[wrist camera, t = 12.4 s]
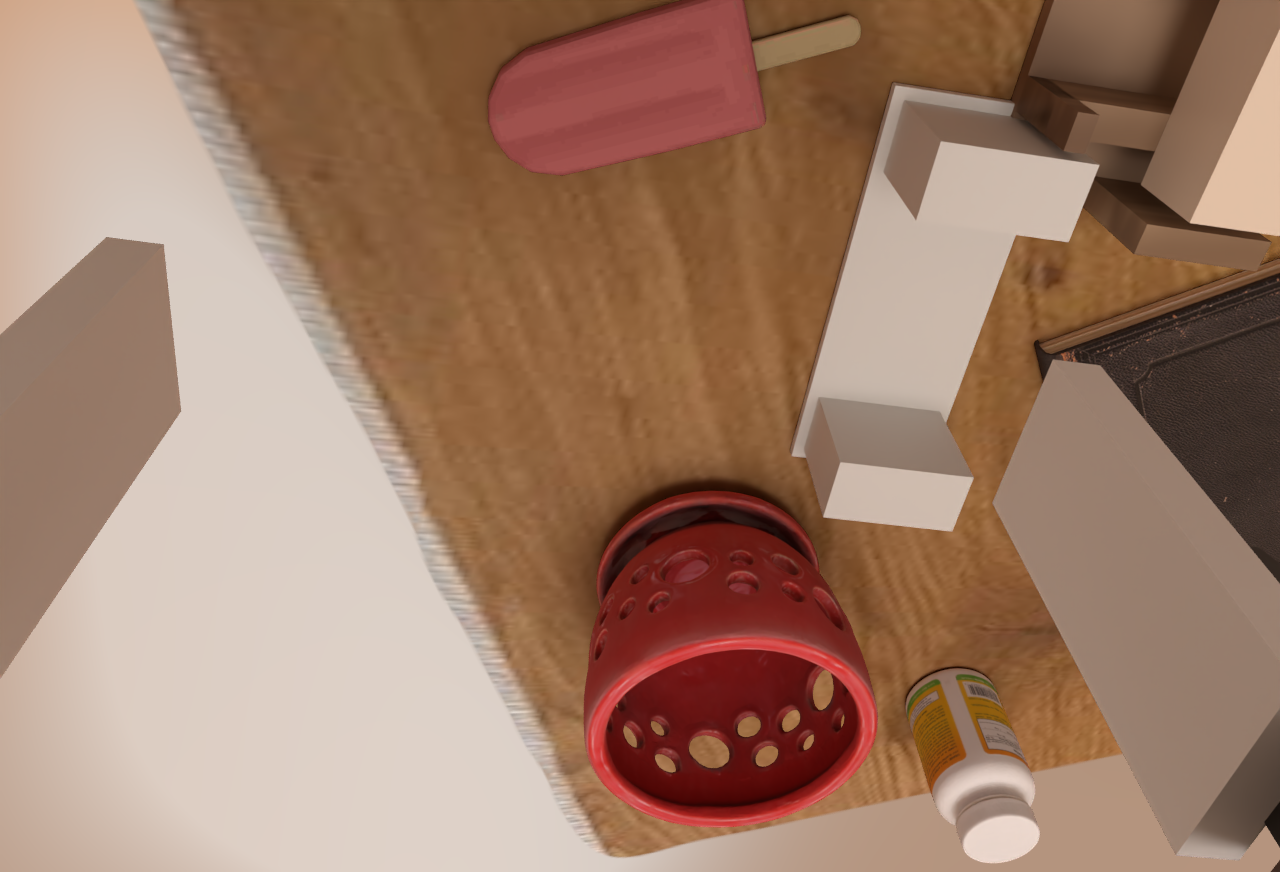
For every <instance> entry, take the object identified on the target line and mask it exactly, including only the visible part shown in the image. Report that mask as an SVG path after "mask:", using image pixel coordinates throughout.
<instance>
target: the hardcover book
mask: <svg viewBox="0 0 1280 872" xmlns="http://www.w3.org/2000/svg"><path fill="white" fill-rule="evenodd" d="M1034 345H1035V349H1036V353H1037V357H1038V362H1039V366H1040V370H1041V374H1042V379H1043V382H1044V379H1045V377H1046V375H1047V372H1048V370H1049V368H1050V365H1051V363H1052V360H1053V359H1054V360H1062V361H1069V362H1077V363H1085V364H1092V365H1100V366H1101V367H1102V368H1103V370H1104V371H1105V372H1106V373H1107V374H1108V376H1109V377H1110V378H1111V379H1112V380H1113V382H1114V383H1115V384H1116V385H1117V387H1118V388H1119V389H1120V390H1121V391H1122V393H1123V394H1124V395H1125V396H1126V397H1127V399H1128V400H1129V401H1130V402H1131V404H1132V405H1133V406H1134V407H1135V408H1136V410H1137V411H1138V412H1139V413H1140V414H1141V416H1142V417H1143V418H1144V419H1145V421H1146V422H1147V423H1148V424H1149V425H1150V427H1151V428H1152V429H1153V430H1154V431H1155V433H1156V434H1157V435H1158V436H1159V438H1160V439H1161V440H1162V441H1163V442H1164V444H1165V445H1166V446H1167V447H1168V448H1169V450H1170V451H1171V452H1172V453H1173V455H1174V456H1175V457H1176V458H1177V459H1178V461H1179V462H1180V463H1181V464H1182V465H1183V467H1184V468H1185V469H1186V470H1187V472H1188V473H1189V474H1190V475H1191V476H1192V478H1193V479H1194V480H1195V481H1196V482H1197V484H1198V485H1199V486H1200V487H1201V489H1202V490H1203V491H1204V492H1205V493H1206V495H1207V496H1208V497H1209V498H1210V499H1211V501H1212V502H1213V503H1214V504H1215V506H1216V507H1217V508H1218V509H1219V510H1220V512H1221V513H1222V514H1223V515H1224V516H1225V518H1226V519H1227V520H1228V521H1229V523H1230V524H1231V525H1232V526H1233V527H1234V529H1235V530H1236V531H1237V532H1238V533H1239V535H1240V536H1241V537H1242V538H1243V540H1244V541H1245V542H1246V543H1247V544H1248V546H1254V547H1259V548H1260V549H1262V550H1263V551H1264V552H1266V553H1267V554H1268V555H1270V556H1271V557H1272V558H1274V559H1275V560H1276V561H1278V562H1279V563H1280V259H1277V260H1274V261H1271V262H1269V263H1266V264H1263V265H1260V266H1259V268H1258V270H1257V271H1250V270H1246V271H1243V272H1240V273H1238V274H1235V275H1232V276H1229V277H1226V278H1224V279H1221V280H1218V281H1215V282H1212V283H1209V284H1207V285H1204V286H1201V287H1198V288H1195V289H1193V290H1190V291H1187V292H1184V293H1181V294H1178V295H1176V296H1173V297H1170V298H1167V299H1164V300H1162V301H1159V302H1156V303H1153V304H1150V305H1148V306H1145V307H1142V308H1139V309H1136V310H1133V311H1131V312H1128V313H1125V314H1122V315H1119V316H1117V317H1114V318H1111V319H1108V320H1105V321H1103V322H1100V323H1097V324H1094V325H1091V326H1088V327H1086V328H1083V329H1080V330H1077V331H1074V332H1072V333H1069V334H1066V335H1063V336H1060V337H1057V338H1055V339H1052V340H1049V341H1046V342H1043V343H1041V344H1039V341H1038V340H1037V341H1035V343H1034Z"/></svg>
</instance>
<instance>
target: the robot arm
mask: <svg viewBox="0 0 1280 872" xmlns="http://www.w3.org/2000/svg"><path fill="white" fill-rule="evenodd" d="M173 340H174V339H173V331H172V320H171V311H170V301H169V292H168V283H167V273H166V263H165V254H164V245H163V244H155V243H147V242H140V241H132V240H123V239H116V238H109V237H106V238H105V239H104V240H103V241H102V242H101V243H100V244H99V245H97V246H96V247H95V248H94V249H93V250H92V251H91V252H90V253H89V254H88V255H87V256H85V257H84V258H83V259H82V260H81V261H80V262H79V263H78V264H77V265H76V266H75V267H74V268H72V269H71V270H70V271H69V272H68V273H67V274H66V275H65V276H64V277H63V278H62V279H60V281H58V282H57V283H56V284H55V285H54V286H53V287H52V288H51V289H50V290H48V291H47V292H46V293H45V294H44V295H43V296H42V297H41V298H40V299H39V300H38V301H37V302H35V303H34V304H33V305H32V306H31V307H30V308H29V309H28V310H27V311H26V312H25V313H23V314H22V315H21V316H20V317H19V318H18V319H17V320H16V321H15V322H14V323H13V324H11V325H10V326H9V327H8V328H7V329H6V330H5V331H4V332H3V333H2V334H1V335H0V678H1V677H2V675H3V674H4V672H5V671H6V669H7V668H8V667H9V665H10V663H11V662H12V661H13V659H14V658H15V656H16V655H17V653H18V652H19V650H20V649H21V647H22V645H23V644H24V643H25V641H26V640H27V638H28V636H29V635H30V634H31V632H32V631H33V629H34V628H35V627H36V625H37V624H38V622H39V620H40V619H41V618H42V616H43V615H44V613H45V612H46V610H47V609H48V607H49V606H50V604H51V603H52V601H53V600H54V598H55V597H56V595H57V594H58V592H59V591H60V590H61V588H62V586H63V585H64V584H65V582H66V581H67V579H68V578H69V576H70V575H71V573H72V572H73V570H74V569H75V567H76V566H77V564H78V563H79V561H80V560H81V558H82V557H83V555H84V554H85V553H86V551H87V550H88V548H89V547H90V545H91V544H92V542H93V541H94V539H95V538H96V536H97V535H98V533H99V532H100V530H101V529H102V527H103V526H104V524H105V523H106V521H107V520H108V518H109V517H110V515H111V514H112V513H113V511H114V509H115V508H116V507H117V505H118V504H119V502H120V501H121V499H122V498H123V496H124V495H125V493H126V492H127V490H128V489H129V487H130V486H131V484H132V483H133V481H134V480H135V478H136V477H137V475H138V474H139V472H140V471H141V470H142V468H143V467H144V465H145V464H146V462H147V461H148V459H149V458H150V456H151V455H152V453H153V452H154V450H155V449H156V447H157V446H158V444H159V443H160V441H161V440H162V438H163V437H164V436H165V434H166V432H167V431H168V430H169V428H170V427H171V425H172V424H173V422H174V421H175V419H176V418H177V416H178V415H179V413H180V412H181V406H180V397H179V387H178V378H177V368H176V359H175V349H174V341H173ZM993 505H994V507H995V509H996V511H997V513H998V515H999V517H1000V519H1001V521H1002V522H1003V524H1004V526H1005V528H1006V530H1007V532H1008V534H1009V536H1010V538H1011V540H1012V542H1013V544H1014V546H1015V547H1016V549H1017V551H1018V553H1019V555H1020V557H1021V559H1022V561H1023V563H1024V565H1025V567H1026V569H1027V570H1028V572H1029V574H1030V576H1031V578H1032V580H1033V582H1034V584H1035V586H1036V588H1037V590H1038V592H1039V594H1040V595H1041V597H1042V599H1043V601H1044V603H1045V605H1046V607H1047V609H1048V611H1049V613H1050V615H1051V617H1052V619H1053V620H1054V622H1055V624H1056V626H1057V628H1058V630H1059V632H1060V634H1061V636H1062V638H1063V640H1064V642H1065V643H1066V645H1067V647H1068V649H1069V651H1070V653H1071V655H1072V657H1073V659H1074V661H1075V663H1076V665H1077V667H1078V668H1079V670H1080V672H1081V674H1082V676H1083V678H1084V680H1085V682H1086V684H1087V686H1088V688H1089V690H1090V691H1091V693H1092V695H1093V697H1094V699H1095V701H1096V703H1097V705H1098V707H1099V709H1100V711H1101V713H1102V715H1103V716H1104V718H1105V720H1106V722H1107V724H1108V726H1109V728H1110V730H1111V732H1112V734H1113V736H1114V738H1115V739H1116V741H1117V743H1118V745H1119V747H1120V749H1121V751H1122V753H1123V755H1124V757H1125V759H1126V761H1127V762H1128V764H1129V766H1130V768H1131V770H1132V772H1133V774H1134V776H1135V778H1136V780H1137V782H1138V784H1139V786H1140V788H1141V789H1142V791H1143V793H1144V795H1145V797H1146V799H1147V801H1148V803H1149V805H1150V807H1151V808H1152V811H1153V812H1154V814H1155V816H1156V818H1157V820H1158V822H1159V824H1160V826H1161V827H1162V830H1163V832H1164V834H1165V836H1166V837H1167V839H1168V841H1169V843H1170V845H1171V847H1172V849H1173V851H1174V853H1175V855H1177V856H1189V857H1204V858H1215V859H1228V860H1240V858H1241V857H1242V856H1243V854H1244V853H1245V852H1246V850H1247V849H1248V848H1249V847H1250V845H1251V844H1252V843H1253V841H1254V840H1255V839H1256V837H1257V836H1258V834H1259V833H1260V832H1261V831H1262V829H1263V828H1264V827H1265V826H1267V828H1268V829H1269V831H1270V832H1271V834H1272V836H1273V837H1274V839H1275V840H1276V842H1277V844H1278V845H1279V847H1280V563H1279V562H1278V561H1276V560H1275V559H1274V558H1272V557H1271V556H1270V555H1268V554H1267V553H1266V552H1264V551H1263V550H1262V549H1260V548H1259V547H1254V546H1248V544H1247V543H1246V542H1245V541H1244V540H1243V538H1242V537H1241V536H1240V535H1239V533H1238V532H1237V531H1236V530H1235V529H1234V527H1233V526H1232V525H1231V524H1230V523H1229V521H1228V520H1227V519H1226V518H1225V516H1224V515H1223V514H1222V513H1221V512H1220V510H1219V509H1218V508H1217V507H1216V506H1215V504H1214V503H1213V502H1212V501H1211V499H1210V498H1209V497H1208V496H1207V495H1206V493H1205V492H1204V491H1203V490H1202V489H1201V487H1200V486H1199V485H1198V484H1197V482H1196V481H1195V480H1194V479H1193V478H1192V476H1191V475H1190V474H1189V473H1188V472H1187V470H1186V469H1185V468H1184V467H1183V465H1182V464H1181V463H1180V462H1179V461H1178V459H1177V458H1176V457H1175V456H1174V455H1173V453H1172V452H1171V451H1170V450H1169V448H1168V447H1167V446H1166V445H1165V444H1164V442H1163V441H1162V440H1161V439H1160V438H1159V436H1158V435H1157V434H1156V433H1155V431H1154V430H1153V429H1152V428H1151V427H1150V425H1149V424H1148V423H1147V422H1146V421H1145V419H1144V418H1143V417H1142V416H1141V414H1140V413H1139V412H1138V411H1137V410H1136V408H1135V407H1134V406H1133V405H1132V404H1131V402H1130V401H1129V400H1128V399H1127V397H1126V396H1125V395H1124V394H1123V393H1122V391H1121V390H1120V389H1119V388H1118V387H1117V385H1116V384H1115V383H1114V382H1113V380H1112V379H1111V378H1110V377H1109V376H1108V374H1107V373H1106V372H1105V371H1104V370H1103V368H1102V367H1101V366H1100V365H1092V364H1085V363H1077V362H1069V361H1062V360H1054V359H1053V360H1052V363H1051V365H1050V368H1049V370H1048V372H1047V375H1046V377H1045V379H1044V382H1043V384H1042V387H1041V389H1040V391H1039V394H1038V396H1037V398H1036V401H1035V403H1034V406H1033V408H1032V410H1031V413H1030V415H1029V417H1028V420H1027V422H1026V424H1025V427H1024V429H1023V432H1022V434H1021V436H1020V439H1019V441H1018V443H1017V446H1016V448H1015V451H1014V453H1013V455H1012V458H1011V460H1010V462H1009V465H1008V467H1007V470H1006V472H1005V474H1004V477H1003V479H1002V481H1001V484H1000V486H999V489H998V491H997V493H996V496H995V498H994V500H993ZM1271 872H1280V861H1279V862H1278V863H1277V865H1276V866H1275V867H1274V869H1273V870H1272V871H1271Z"/></svg>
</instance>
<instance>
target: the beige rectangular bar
mask: <svg viewBox="0 0 1280 872" xmlns="http://www.w3.org/2000/svg"><path fill="white" fill-rule="evenodd" d="M1141 185H1142V186H1143V187H1144V188H1145V189H1147V190H1148V191H1149V192H1151V193H1152V194H1153V195H1154V196H1156V197H1157V198H1158V199H1160V200H1161V201H1162V202H1163V203H1165V204H1166V205H1167V206H1168V207H1170V208H1171V209H1172V210H1174V211H1175V212H1176V213H1177V214H1179V215H1180V216H1181V217H1183V218H1184V219H1185V220H1186V221H1188V222H1189V223H1193V224H1200V225H1207V226H1214V227H1221V228H1228V229H1234V230H1241V231H1248V232H1255V233H1262V234H1269V235H1276V236H1280V0H1220V1H1219V4H1218V6H1217V8H1216V11H1215V13H1214V15H1213V17H1212V20H1211V22H1210V24H1209V27H1208V29H1207V31H1206V34H1205V36H1204V38H1203V41H1202V43H1201V45H1200V48H1199V50H1198V52H1197V55H1196V57H1195V59H1194V62H1193V64H1192V66H1191V69H1190V71H1189V73H1188V76H1187V78H1186V80H1185V83H1184V85H1183V87H1182V90H1181V92H1180V94H1179V97H1178V99H1177V101H1176V104H1175V106H1174V108H1173V111H1172V113H1171V115H1170V118H1169V120H1168V122H1167V125H1166V127H1165V129H1164V132H1163V134H1162V136H1161V139H1160V141H1159V143H1158V146H1157V148H1156V150H1155V153H1154V155H1153V157H1152V160H1151V162H1150V164H1149V167H1148V169H1147V171H1146V174H1145V176H1144V178H1143V181H1142V183H1141Z"/></svg>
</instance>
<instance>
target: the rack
mask: <svg viewBox="0 0 1280 872" xmlns="http://www.w3.org/2000/svg"><path fill="white" fill-rule="evenodd" d="M1219 1H1220V0H1045V2H1044V5H1043V8H1042V11H1041V14H1040V17H1039V20H1038V23H1037V26H1036V29H1035V32H1034V35H1033V37H1032V40H1031V43H1030V46H1029V49H1028V52H1027V55H1026V58H1025V61H1024V64H1023V67H1022V70H1021V72H1020V75H1019V78H1018V81H1017V84H1016V87H1015V90H1014V93H1013V96H1012V99H1011V101H1012V102H1013V103H1014V104H1015V105H1014V108H1013V111H1012V114H1011V117H1012V118H1014V119H1021V120H1027V121H1028V122H1029V123H1031V124H1032V125H1033V126H1034V127H1035V128H1037V129H1038V130H1039V131H1040V132H1041V133H1043V134H1044V135H1045V136H1046V137H1047V138H1049V139H1050V140H1051V141H1052V142H1053V143H1055V144H1056V145H1057V146H1058V147H1059V148H1061V149H1062V150H1063V151H1067V152H1073V153H1080V154H1086V155H1088V156H1089V157H1090V158H1091V159H1093V160H1094V161H1095V162H1096V163H1098V164H1099V168H1098V170H1097V173H1096V175H1095V178H1094V180H1093V183H1092V185H1091V188H1090V190H1089V193H1088V195H1087V198H1086V200H1085V203H1084V205H1083V208H1085V209H1086V210H1087V211H1088V212H1089V213H1090V214H1091V215H1092V216H1093V217H1094V218H1095V219H1096V220H1098V221H1099V222H1100V223H1101V224H1102V225H1103V226H1104V227H1105V228H1106V229H1107V230H1108V231H1109V232H1111V233H1112V234H1113V235H1114V236H1115V237H1116V238H1117V239H1118V240H1119V241H1120V242H1121V243H1122V244H1124V245H1125V246H1126V247H1127V248H1128V249H1129V250H1130V251H1131V252H1132V253H1133V254H1137V255H1144V256H1151V257H1158V258H1165V259H1172V260H1179V261H1186V262H1193V263H1200V264H1207V265H1214V266H1222V267H1229V268H1236V269H1243V270H1250V271H1257V270H1258V268H1259V266H1260V264H1261V262H1262V260H1263V258H1264V256H1265V254H1266V252H1267V250H1268V248H1269V246H1270V244H1271V243H1272V242H1271V241H1269V240H1268V239H1266V238H1265V237H1264V236H1262V235H1261V234H1259V233H1255V232H1248V231H1241V230H1234V229H1228V228H1221V227H1214V226H1207V225H1200V224H1193V223H1189V222H1188V221H1186V220H1185V219H1184V218H1183V217H1181V216H1180V215H1179V214H1177V213H1176V212H1175V211H1174V210H1172V209H1171V208H1170V207H1168V206H1167V205H1166V204H1165V203H1163V202H1162V201H1161V200H1160V199H1158V198H1157V197H1156V196H1154V195H1153V194H1152V193H1151V192H1149V191H1148V190H1147V189H1145V188H1144V187H1143V186H1142V185H1141V183H1142V181H1143V178H1144V176H1145V174H1146V171H1147V169H1148V167H1149V164H1150V162H1151V160H1152V157H1153V155H1154V153H1155V150H1156V148H1157V146H1158V143H1159V141H1160V139H1161V136H1162V134H1163V132H1164V129H1165V127H1166V125H1167V122H1168V120H1169V118H1170V115H1171V113H1172V111H1173V108H1174V106H1175V104H1176V101H1177V99H1178V97H1179V94H1180V92H1181V90H1182V87H1183V85H1184V83H1185V80H1186V78H1187V76H1188V73H1189V71H1190V69H1191V66H1192V64H1193V62H1194V59H1195V57H1196V55H1197V52H1198V50H1199V48H1200V45H1201V43H1202V41H1203V38H1204V36H1205V34H1206V31H1207V29H1208V27H1209V24H1210V22H1211V20H1212V17H1213V15H1214V13H1215V11H1216V8H1217V6H1218V4H1219Z"/></svg>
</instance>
